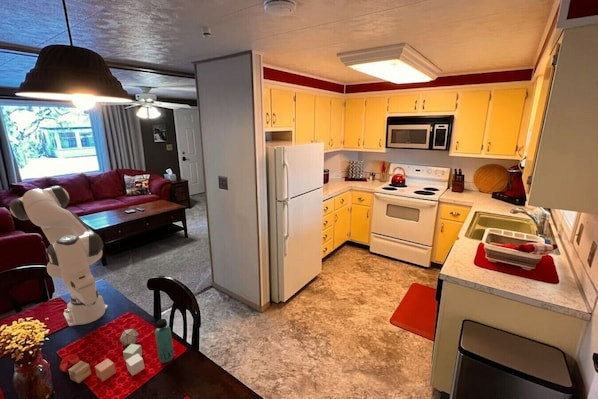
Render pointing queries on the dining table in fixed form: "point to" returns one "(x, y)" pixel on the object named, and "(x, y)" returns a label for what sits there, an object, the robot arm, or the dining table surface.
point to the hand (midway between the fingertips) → (84, 306)
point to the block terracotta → (105, 369)
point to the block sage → (132, 351)
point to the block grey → (135, 364)
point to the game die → (129, 337)
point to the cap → (66, 360)
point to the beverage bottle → (164, 341)
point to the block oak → (79, 371)
